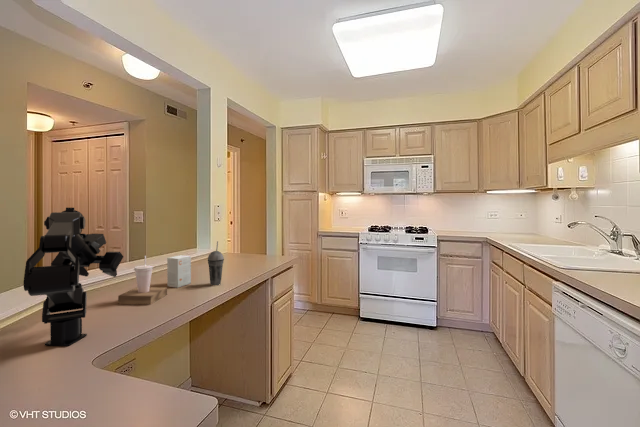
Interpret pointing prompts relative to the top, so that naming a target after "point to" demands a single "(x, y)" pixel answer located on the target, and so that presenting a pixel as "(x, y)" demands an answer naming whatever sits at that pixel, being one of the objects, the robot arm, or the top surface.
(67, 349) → the top surface
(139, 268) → the smoothie
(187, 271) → the small box
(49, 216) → the robot arm
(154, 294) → the walnut plinth
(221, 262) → the beverage cup
